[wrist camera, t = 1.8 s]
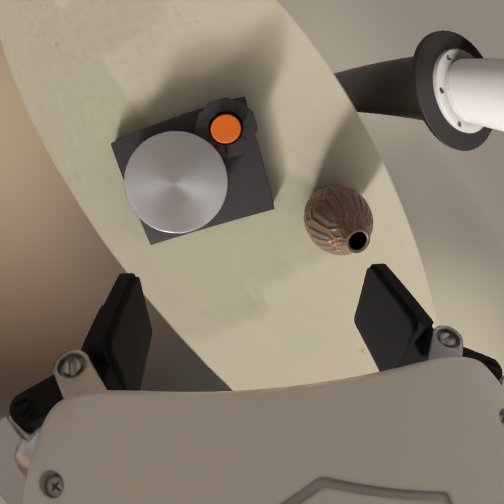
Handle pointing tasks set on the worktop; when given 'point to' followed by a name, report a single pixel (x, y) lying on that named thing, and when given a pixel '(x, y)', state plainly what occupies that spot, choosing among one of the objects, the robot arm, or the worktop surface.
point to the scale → (233, 154)
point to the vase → (338, 220)
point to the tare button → (225, 128)
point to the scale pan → (176, 181)
